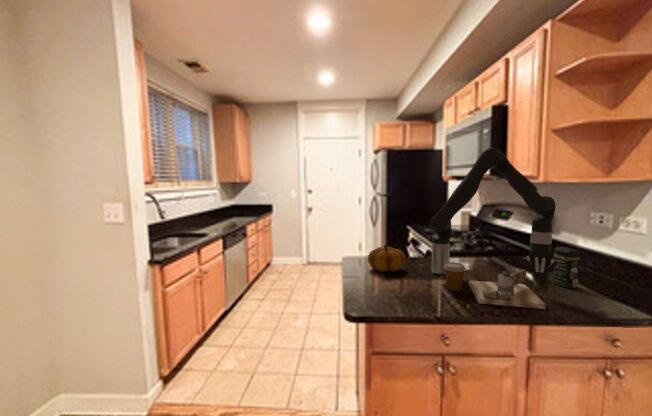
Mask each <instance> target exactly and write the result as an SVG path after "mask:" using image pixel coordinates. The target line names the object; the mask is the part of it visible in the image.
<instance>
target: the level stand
mask: <svg viewBox="0 0 652 416" xmlns="http://www.w3.org/2000/svg"><path fill="white" fill-rule="evenodd" d="M468 286H469V287H470V289H471V291H472V292H473V295H474V297H475V299H476V300H477V302H478V304H484V305H496V306H504V307H505V306H506V307H507V306H508V307H515V308H516V307H519V308H529V309H540V310H546V307H547V305H546V303H545V302H544V301H543V300H542V299H541V298H540V297H538V295H536V293H534V291H532V290H531V289H530V288H529V287H528V286H527V285H526V284H525V283H519V284H517V285H515V286H514V295H513V296H511V293H510V292H500V291H498V281H496V282H495V281H483V280H480V281H479V280H468Z"/></svg>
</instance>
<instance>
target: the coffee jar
mask: <svg viewBox="0 0 652 416" xmlns="http://www.w3.org/2000/svg"><path fill="white" fill-rule="evenodd" d="M553 259H554V260H555V261H558V264H557V265H556V266H555V267H554V268H553V273H552V283H553V284H555V285H557V286H560V287H561V288H565V289H567V288H568V289H577V288H578V287H579V261H580V259H581V256H580V251H579V249H574V248H570V247H564V246H556V247H555V248H554V250H553Z"/></svg>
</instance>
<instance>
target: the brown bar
mask: <svg viewBox="0 0 652 416" xmlns="http://www.w3.org/2000/svg"><path fill="white" fill-rule="evenodd" d="M526 278H527V270H526V269H523V268H522V269H521V268H520V269H518V270H516V271H513V272H511V271H508V270H507V271H506V270H502V272H501V273H499V274H497V282H498V291H500V292H510V293H511V296H513V295H514V286H515V285H517V284H523V283H525V282H526V281H527V279H526Z"/></svg>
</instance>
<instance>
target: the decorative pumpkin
mask: <svg viewBox="0 0 652 416" xmlns="http://www.w3.org/2000/svg"><path fill="white" fill-rule="evenodd" d="M405 260H406V256H405V253H404V252H403V251H402V250H401V249H399V248H394V247H391V246H388V247H387V246H386V244H384V245H383V246H378V247H377V248H376V249H372V250H371V251H369V253H368V255H367V263H368V264H369V266H370V267H371V268H372V269H373V268H374V270H376V269H377V270H376V271H379V272H381V271H392V272H391V273H395V272H394V271H396V272H397V271H398V270H400V269H401V268H402V267H403V266H404V264H405V262H406V261H405Z"/></svg>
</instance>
